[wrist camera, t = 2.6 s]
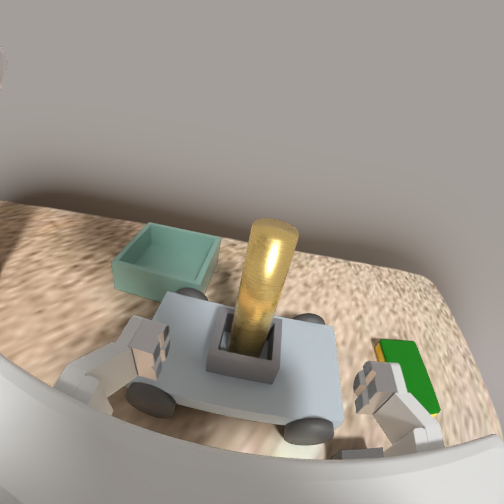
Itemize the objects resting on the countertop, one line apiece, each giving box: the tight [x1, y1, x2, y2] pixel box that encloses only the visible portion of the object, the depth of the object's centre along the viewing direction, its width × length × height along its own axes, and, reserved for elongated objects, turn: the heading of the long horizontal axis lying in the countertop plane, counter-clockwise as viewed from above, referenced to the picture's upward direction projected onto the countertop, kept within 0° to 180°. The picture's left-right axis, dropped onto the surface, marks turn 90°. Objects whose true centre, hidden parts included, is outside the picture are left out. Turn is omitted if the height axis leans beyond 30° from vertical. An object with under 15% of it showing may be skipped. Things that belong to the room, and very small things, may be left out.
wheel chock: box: [330, 447, 384, 460], centre depth 20 cm, size 5×4×3 cm
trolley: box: [125, 287, 344, 445], centre depth 29 cm, size 22×16×8 cm
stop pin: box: [227, 218, 299, 358], centre depth 25 cm, size 4×4×15 cm
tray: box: [111, 222, 221, 302], centre depth 44 cm, size 14×14×5 cm
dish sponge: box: [375, 339, 441, 417], centre depth 32 cm, size 7×14×2 cm, turn 177°
